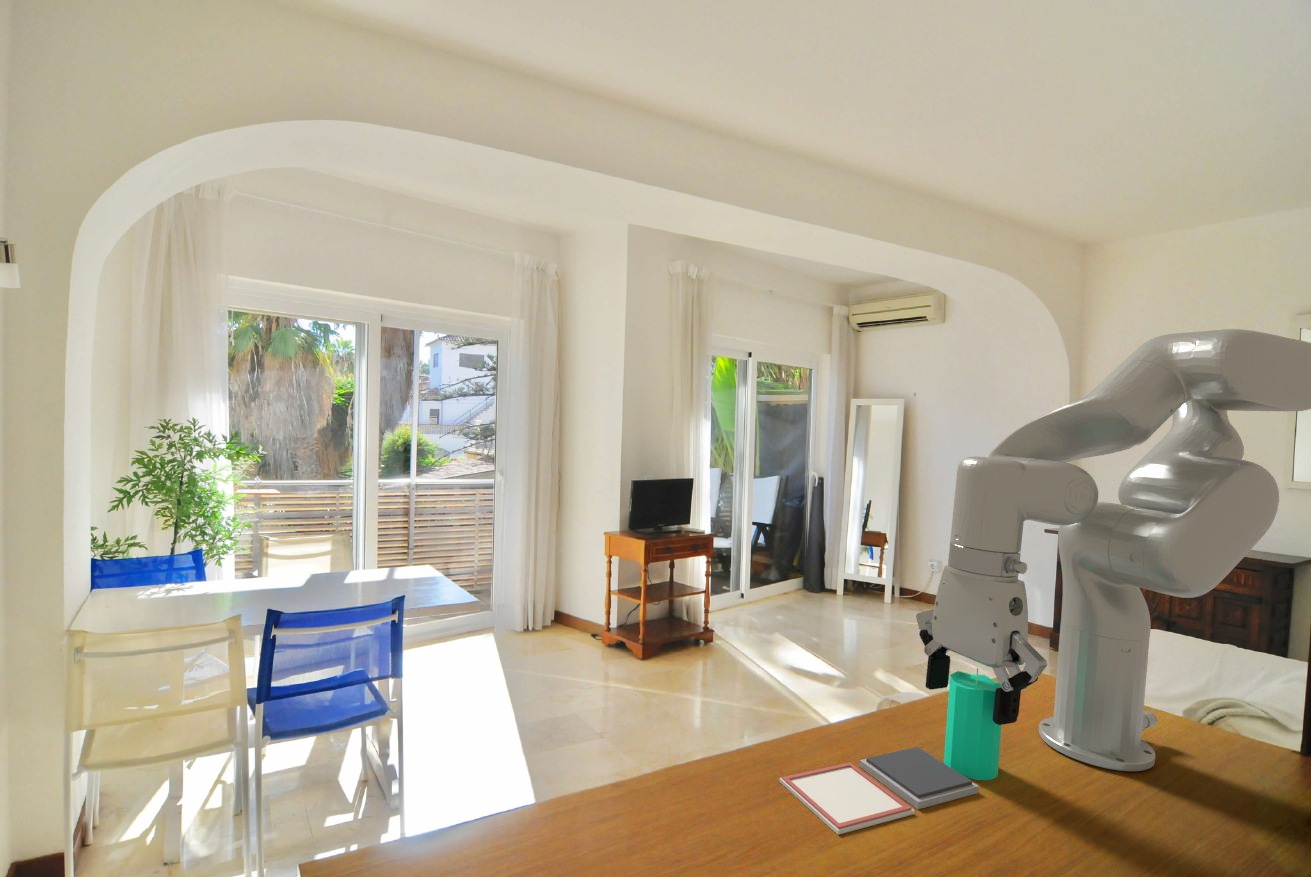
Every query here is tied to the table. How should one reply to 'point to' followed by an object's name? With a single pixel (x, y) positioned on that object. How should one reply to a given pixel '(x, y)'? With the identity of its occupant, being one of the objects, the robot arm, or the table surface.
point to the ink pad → (919, 777)
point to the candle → (972, 726)
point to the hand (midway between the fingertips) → (968, 704)
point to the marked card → (845, 797)
